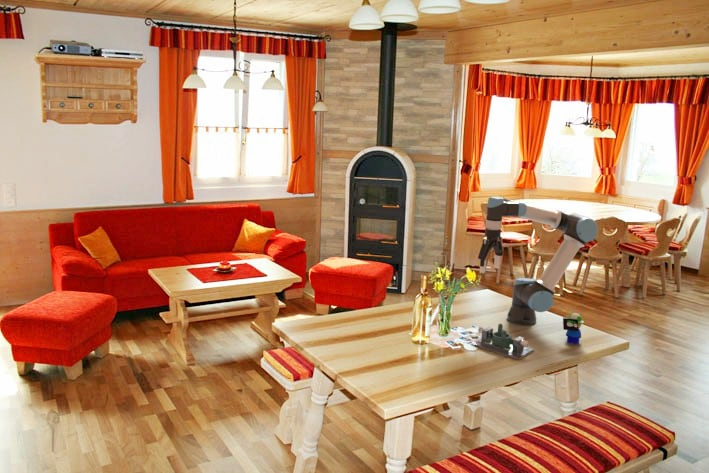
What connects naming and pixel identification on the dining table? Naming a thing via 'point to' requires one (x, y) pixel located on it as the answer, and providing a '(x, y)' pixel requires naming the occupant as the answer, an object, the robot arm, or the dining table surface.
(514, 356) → the shaft bench
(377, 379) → the dining table surface
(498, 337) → the bracket
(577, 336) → the toy
